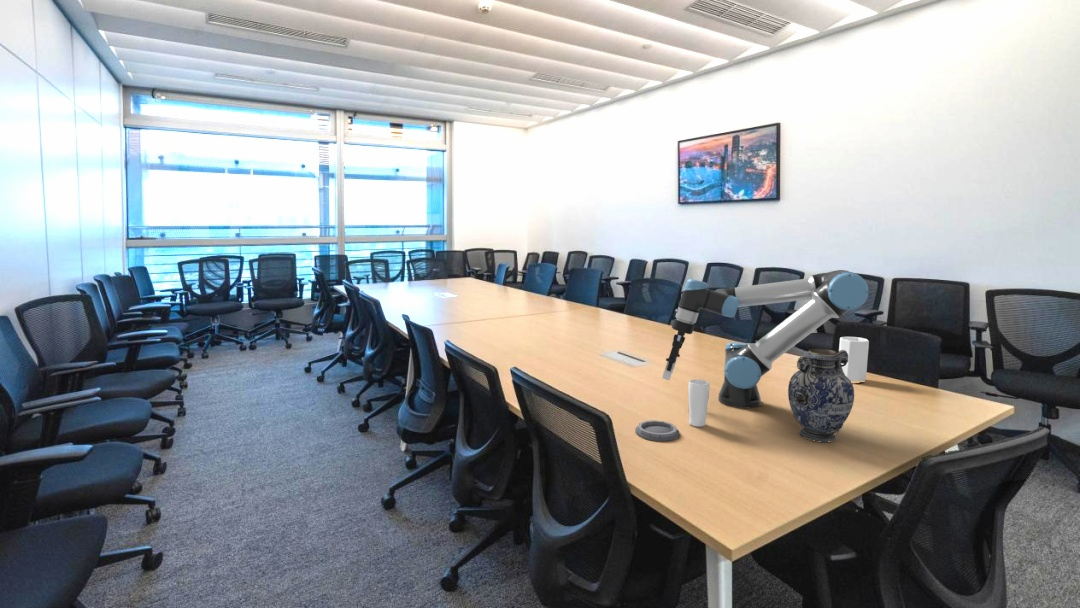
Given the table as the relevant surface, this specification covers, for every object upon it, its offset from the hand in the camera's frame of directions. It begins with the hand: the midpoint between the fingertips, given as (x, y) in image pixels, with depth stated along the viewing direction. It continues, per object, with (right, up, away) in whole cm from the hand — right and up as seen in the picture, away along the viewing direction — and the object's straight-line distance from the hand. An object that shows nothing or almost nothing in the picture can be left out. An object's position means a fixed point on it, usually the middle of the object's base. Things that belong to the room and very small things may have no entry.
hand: (667, 375), depth 196 cm
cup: (+89, -7, +37) cm, 97 cm away
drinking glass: (+6, -15, -15) cm, 22 cm away
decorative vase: (+42, -16, -26) cm, 52 cm away
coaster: (-9, -16, -23) cm, 29 cm away
